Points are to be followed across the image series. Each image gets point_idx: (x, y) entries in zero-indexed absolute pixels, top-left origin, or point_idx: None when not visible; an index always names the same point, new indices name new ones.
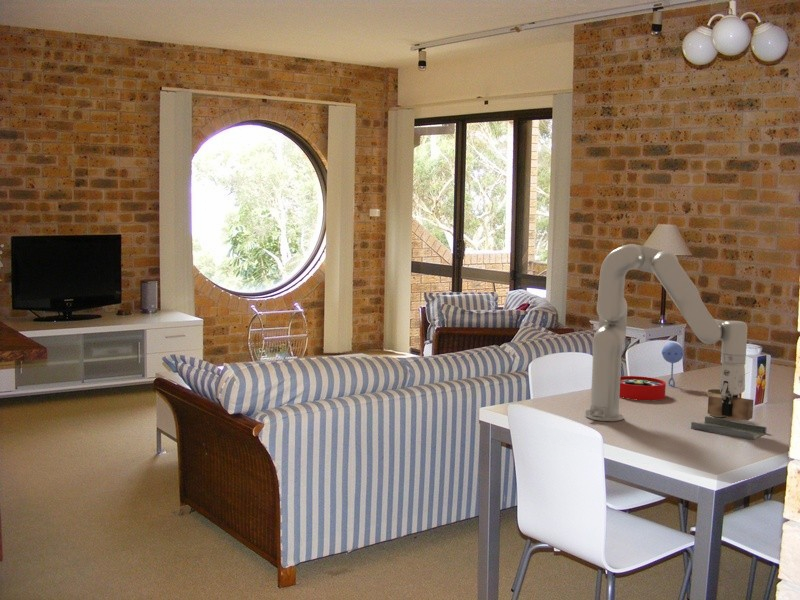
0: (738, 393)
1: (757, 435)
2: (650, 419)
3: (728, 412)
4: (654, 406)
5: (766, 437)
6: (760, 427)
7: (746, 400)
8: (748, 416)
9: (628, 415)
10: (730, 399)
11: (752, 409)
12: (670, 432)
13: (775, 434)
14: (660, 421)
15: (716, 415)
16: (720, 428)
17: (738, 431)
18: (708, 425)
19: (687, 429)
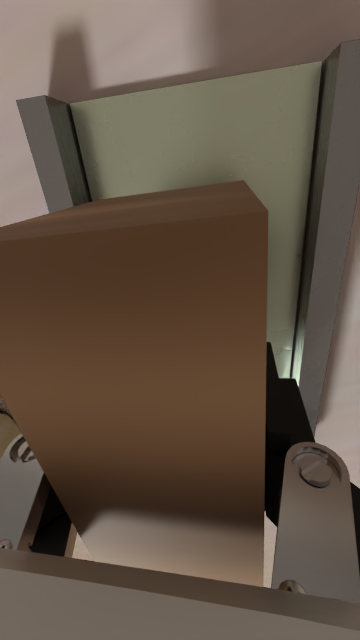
0: (195, 616)
1: (199, 97)
2: (266, 546)
3: (290, 380)
4: (89, 558)
5: (167, 19)
6: (59, 145)
7: (128, 331)
8: (225, 185)
9: (265, 584)
10: (350, 527)
11: (63, 212)
12: None
13: (12, 26)
14: (269, 525)
15: (15, 431)
16: (331, 331)
17: (355, 199)
18: (320, 398)
19: (336, 443)
